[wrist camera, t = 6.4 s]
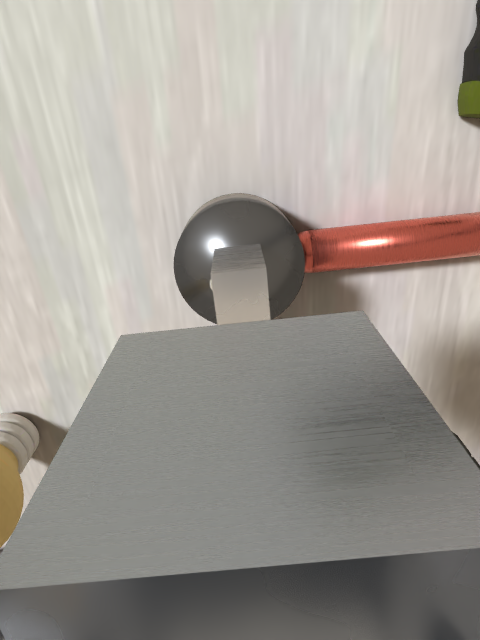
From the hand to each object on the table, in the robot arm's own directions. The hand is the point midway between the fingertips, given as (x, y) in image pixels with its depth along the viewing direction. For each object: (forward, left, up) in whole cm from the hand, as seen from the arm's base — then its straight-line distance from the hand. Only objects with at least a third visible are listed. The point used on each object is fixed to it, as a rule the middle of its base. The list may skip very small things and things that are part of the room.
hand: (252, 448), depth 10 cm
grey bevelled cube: (0, 0, -1) cm, 1 cm away
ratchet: (-8, 0, -17) cm, 19 cm away
